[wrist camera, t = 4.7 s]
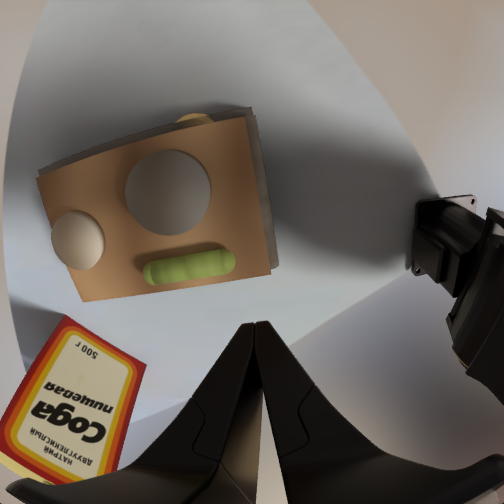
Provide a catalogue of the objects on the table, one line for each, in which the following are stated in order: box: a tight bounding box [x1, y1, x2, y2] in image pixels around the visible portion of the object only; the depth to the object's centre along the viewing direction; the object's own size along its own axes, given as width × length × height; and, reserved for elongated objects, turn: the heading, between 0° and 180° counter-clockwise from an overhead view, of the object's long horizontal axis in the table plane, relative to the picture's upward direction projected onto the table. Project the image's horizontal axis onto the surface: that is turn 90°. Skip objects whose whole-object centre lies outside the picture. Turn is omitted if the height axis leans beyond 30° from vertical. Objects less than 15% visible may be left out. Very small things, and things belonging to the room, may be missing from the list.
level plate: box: [36, 115, 279, 302], centre depth 16 cm, size 14×9×3 cm, turn 100°
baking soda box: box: [0, 315, 147, 485], centre depth 19 cm, size 10×6×16 cm
